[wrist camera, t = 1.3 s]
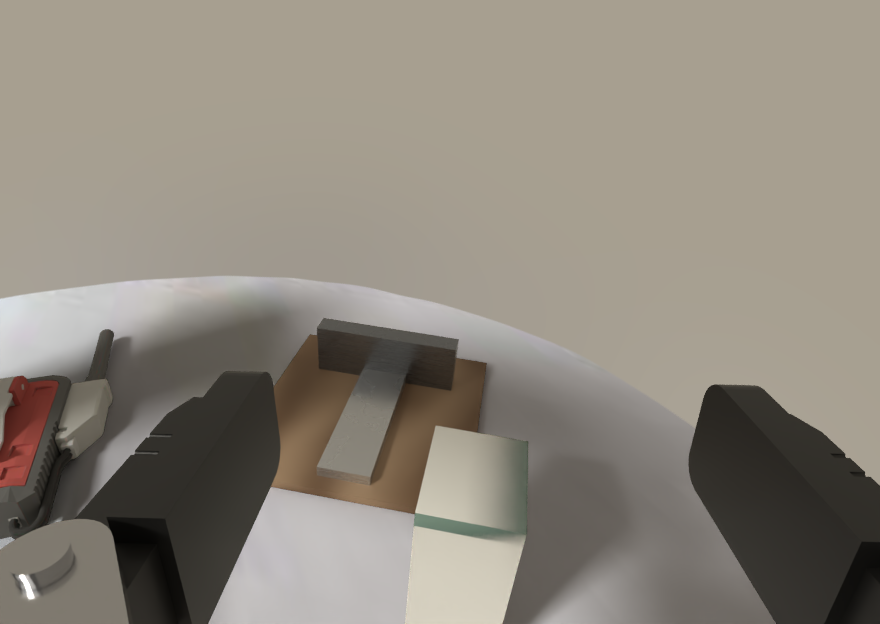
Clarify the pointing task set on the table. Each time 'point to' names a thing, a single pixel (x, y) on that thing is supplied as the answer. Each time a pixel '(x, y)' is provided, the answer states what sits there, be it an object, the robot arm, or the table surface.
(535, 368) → the table surface
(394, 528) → the table surface
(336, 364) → the block
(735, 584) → the table surface
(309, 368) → the mounting board
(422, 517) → the block
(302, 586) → the table surface
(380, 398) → the rail
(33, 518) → the walkie-talkie
